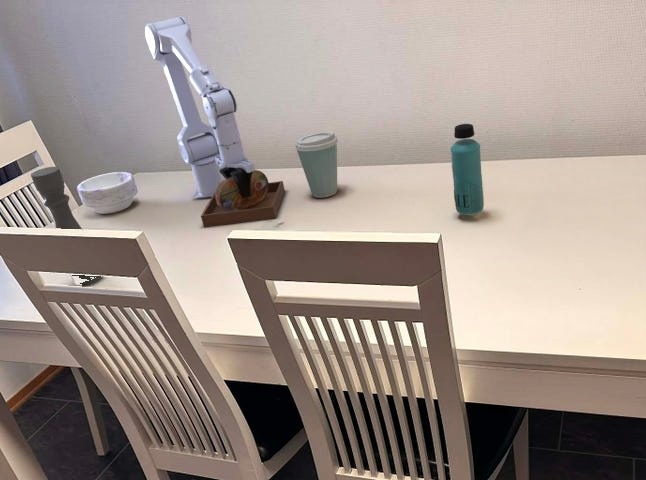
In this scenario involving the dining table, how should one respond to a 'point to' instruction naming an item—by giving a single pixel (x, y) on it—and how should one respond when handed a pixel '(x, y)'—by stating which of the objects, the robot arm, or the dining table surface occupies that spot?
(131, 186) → the paper bowls
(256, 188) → the tin
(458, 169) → the beverage bottle
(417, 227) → the dining table surface
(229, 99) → the robot arm
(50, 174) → the candle holder
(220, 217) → the tray
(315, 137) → the disposable coffee cup
